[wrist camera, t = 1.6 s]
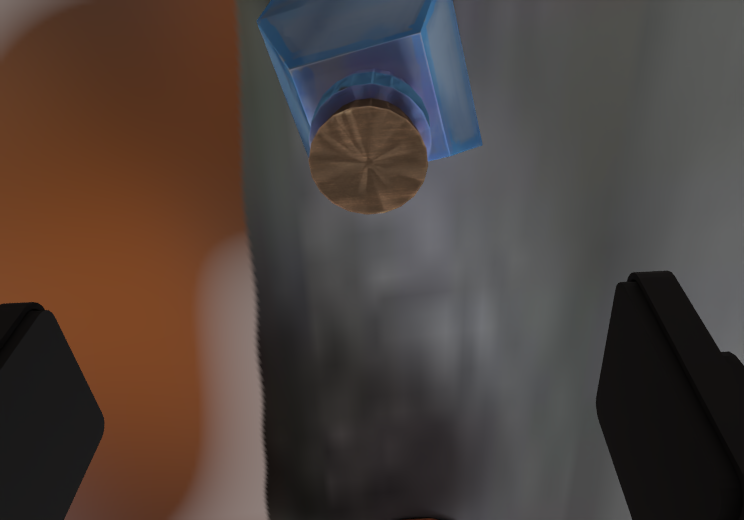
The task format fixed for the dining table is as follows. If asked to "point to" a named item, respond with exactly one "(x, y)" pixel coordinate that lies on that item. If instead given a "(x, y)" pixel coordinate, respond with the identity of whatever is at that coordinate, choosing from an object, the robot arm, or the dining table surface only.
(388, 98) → the perfume bottle
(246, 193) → the dining table surface
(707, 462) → the robot arm
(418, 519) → the goblet
